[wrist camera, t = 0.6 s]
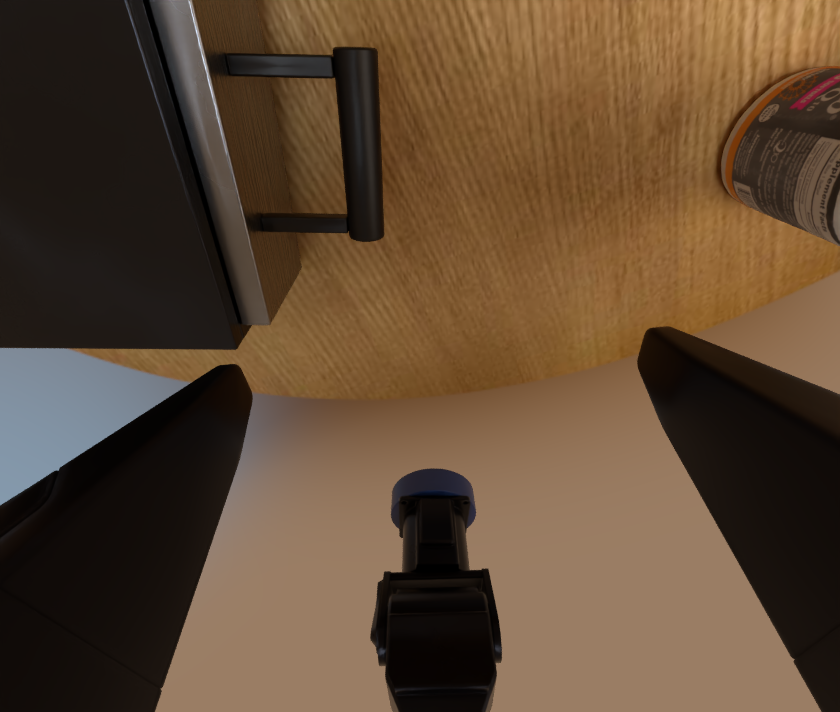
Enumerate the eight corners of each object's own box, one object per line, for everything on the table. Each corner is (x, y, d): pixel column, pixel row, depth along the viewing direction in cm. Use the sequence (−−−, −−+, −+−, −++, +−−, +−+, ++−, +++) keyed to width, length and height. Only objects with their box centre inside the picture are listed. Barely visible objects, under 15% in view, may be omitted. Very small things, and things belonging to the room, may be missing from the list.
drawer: (381, -64, 14) (365, -131, 9) (390, 269, 21) (384, 327, 16) (-126, -79, 13) (-413, -155, 9) (63, 265, 21) (-39, 323, 16)
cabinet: (216, -87, 14) (63, -204, 8) (286, 271, 22) (237, 350, 16) (-179, -98, 14) (-655, -229, 8) (37, 268, 22) (-110, 347, 16)
